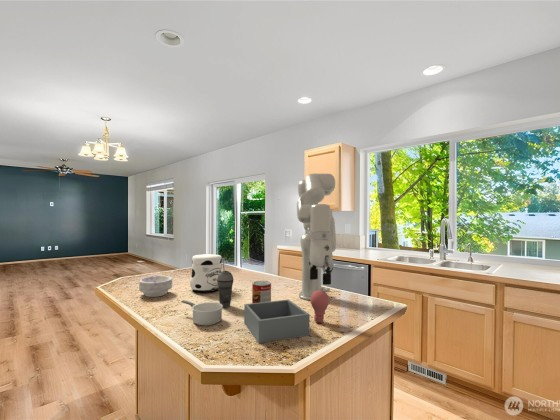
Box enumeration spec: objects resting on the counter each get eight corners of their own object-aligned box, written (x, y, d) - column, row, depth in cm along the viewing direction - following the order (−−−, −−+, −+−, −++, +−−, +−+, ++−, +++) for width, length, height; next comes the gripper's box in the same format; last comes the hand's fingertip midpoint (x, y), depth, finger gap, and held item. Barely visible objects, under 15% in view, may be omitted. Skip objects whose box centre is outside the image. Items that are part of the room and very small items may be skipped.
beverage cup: (229, 309, 122) (230, 262, 122) (213, 308, 123) (214, 261, 124) (235, 304, 129) (236, 259, 129) (220, 303, 130) (221, 259, 131)
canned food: (262, 307, 125) (262, 279, 125) (274, 311, 120) (275, 283, 120) (248, 311, 120) (248, 282, 120) (260, 316, 114) (260, 286, 114)
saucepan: (193, 310, 121) (193, 297, 121) (229, 319, 110) (229, 305, 110) (170, 318, 111) (170, 304, 111) (206, 329, 100) (207, 313, 101)
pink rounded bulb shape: (331, 320, 110) (331, 289, 110) (326, 327, 104) (326, 294, 104) (313, 317, 113) (313, 287, 113) (307, 323, 107) (307, 291, 107)
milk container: (219, 294, 145) (219, 258, 145) (185, 294, 145) (185, 258, 145) (225, 285, 162) (226, 254, 162) (195, 285, 162) (196, 253, 162)
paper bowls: (160, 299, 134) (161, 283, 135) (131, 298, 137) (132, 281, 137) (177, 291, 149) (178, 276, 150) (151, 289, 152) (151, 274, 152)
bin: (288, 317, 113) (288, 299, 113) (309, 335, 97) (309, 314, 97) (244, 323, 107) (244, 304, 107) (258, 343, 90) (258, 321, 90)
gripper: (341, 237, 102) (341, 286, 101) (317, 235, 118) (317, 277, 117) (323, 237, 99) (323, 287, 99) (301, 235, 115) (301, 278, 115)
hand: (320, 281), depth 108 cm, fingers open, 9 cm apart
